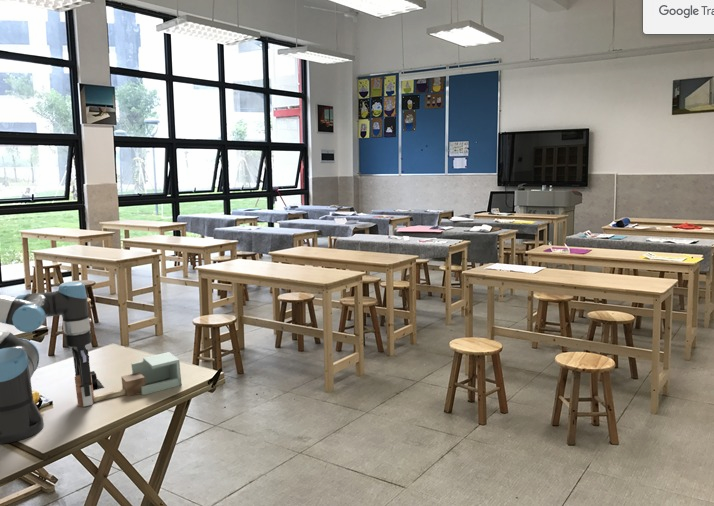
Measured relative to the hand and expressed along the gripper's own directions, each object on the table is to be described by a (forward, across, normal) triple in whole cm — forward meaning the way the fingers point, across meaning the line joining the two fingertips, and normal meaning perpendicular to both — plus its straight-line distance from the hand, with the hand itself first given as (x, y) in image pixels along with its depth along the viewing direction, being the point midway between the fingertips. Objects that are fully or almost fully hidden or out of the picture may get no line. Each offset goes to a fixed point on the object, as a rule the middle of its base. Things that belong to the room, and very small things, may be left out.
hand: (86, 402), depth 191 cm
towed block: (0, 0, -8) cm, 8 cm away
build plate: (+1, +16, -5) cm, 16 cm away
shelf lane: (0, 0, -23) cm, 23 cm away
